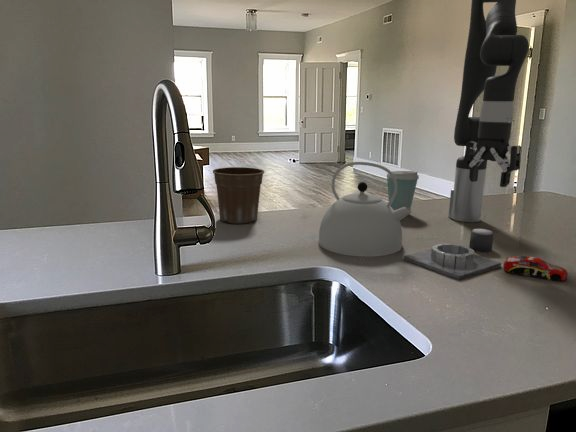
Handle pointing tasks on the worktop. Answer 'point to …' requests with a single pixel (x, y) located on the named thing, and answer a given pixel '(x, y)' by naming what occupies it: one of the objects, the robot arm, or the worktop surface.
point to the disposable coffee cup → (402, 188)
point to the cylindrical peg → (481, 240)
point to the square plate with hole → (452, 261)
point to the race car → (534, 268)
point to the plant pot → (238, 193)
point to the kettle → (362, 222)
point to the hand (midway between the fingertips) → (488, 184)
